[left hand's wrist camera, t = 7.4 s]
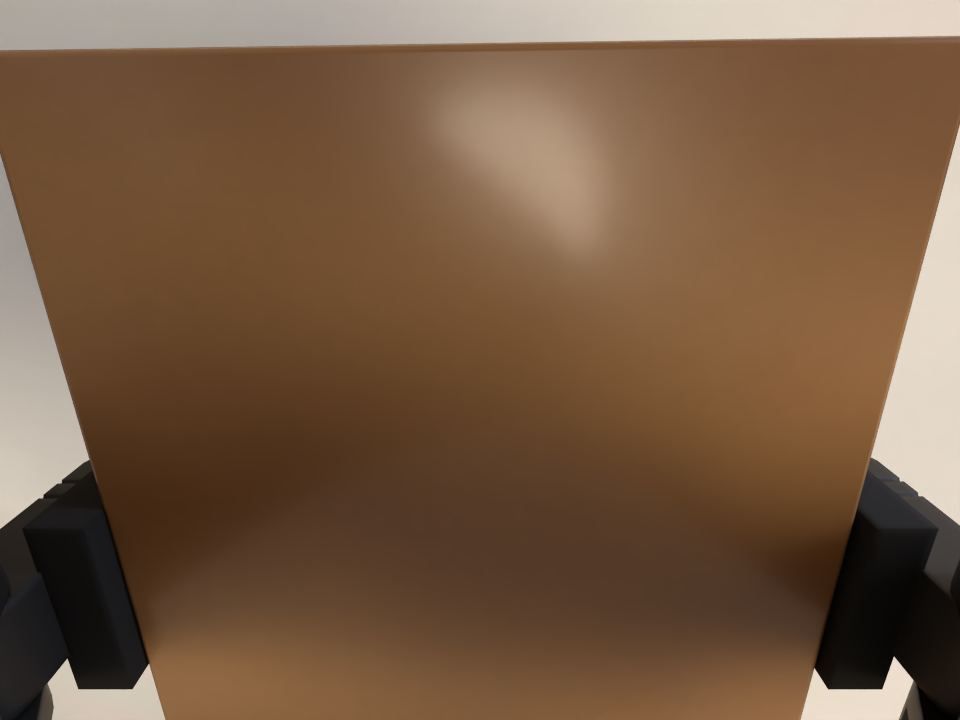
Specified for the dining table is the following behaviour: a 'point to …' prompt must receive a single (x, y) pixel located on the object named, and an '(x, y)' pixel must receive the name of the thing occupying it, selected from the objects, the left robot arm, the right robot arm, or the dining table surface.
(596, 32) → the dining table surface
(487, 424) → the long wooden beam
